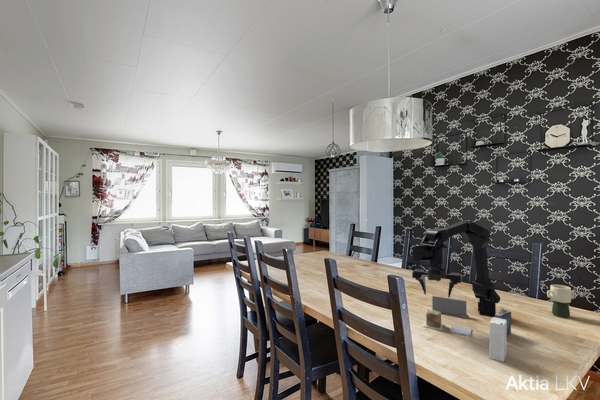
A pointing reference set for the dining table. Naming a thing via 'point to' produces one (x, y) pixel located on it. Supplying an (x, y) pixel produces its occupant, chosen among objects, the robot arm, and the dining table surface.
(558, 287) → the character mug
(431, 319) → the letter cube
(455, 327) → the slate pad
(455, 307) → the screen
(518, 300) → the dining table surface
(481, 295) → the robot arm
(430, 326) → the green pad
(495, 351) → the skincare box
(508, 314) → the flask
